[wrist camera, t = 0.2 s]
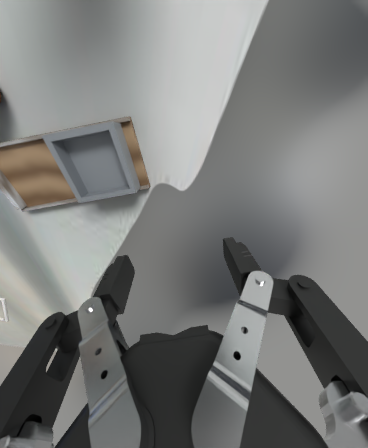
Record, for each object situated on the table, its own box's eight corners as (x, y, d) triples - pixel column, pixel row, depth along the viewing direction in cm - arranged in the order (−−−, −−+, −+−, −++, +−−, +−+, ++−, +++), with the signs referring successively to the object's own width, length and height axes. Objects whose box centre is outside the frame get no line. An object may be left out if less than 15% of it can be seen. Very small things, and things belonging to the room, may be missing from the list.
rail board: (-16, 147, 31) (-33, 147, 29) (130, 117, 30) (126, 115, 27) (30, 208, 38) (19, 213, 35) (150, 186, 37) (148, 189, 34)
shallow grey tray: (64, 136, 30) (41, 135, 25) (123, 124, 29) (112, 121, 24) (92, 193, 36) (79, 203, 31) (142, 184, 35) (136, 192, 30)
